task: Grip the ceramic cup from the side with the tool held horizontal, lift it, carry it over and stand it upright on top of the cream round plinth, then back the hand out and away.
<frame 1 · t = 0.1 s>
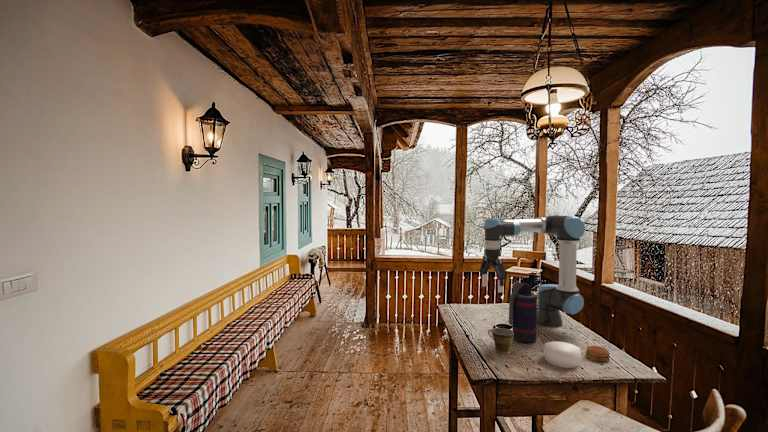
hand: (492, 289, 191), 28 cm above the table, tool pointing down, fingers open, 13 cm apart
burger: (597, 358, 173), on the table
grenade: (522, 339, 196), on the table
plinth: (562, 360, 170), on the table
ceramic cup: (500, 351, 182), on the table
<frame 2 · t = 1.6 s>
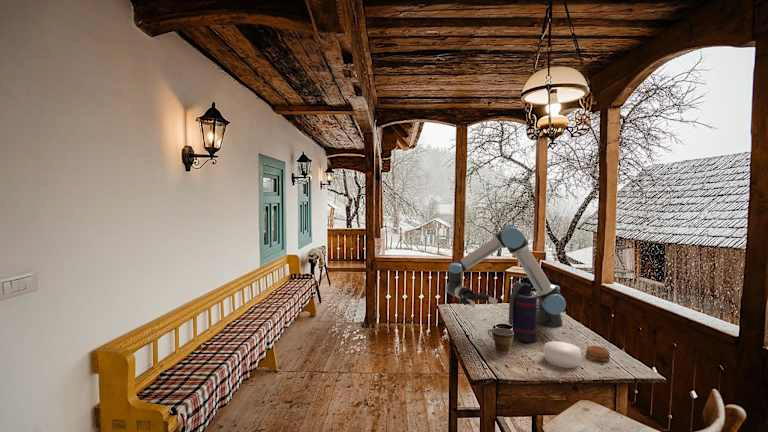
hand: (485, 303, 193), 20 cm above the table, tool horizontal, fingers open, 13 cm apart
nothing on the table moved.
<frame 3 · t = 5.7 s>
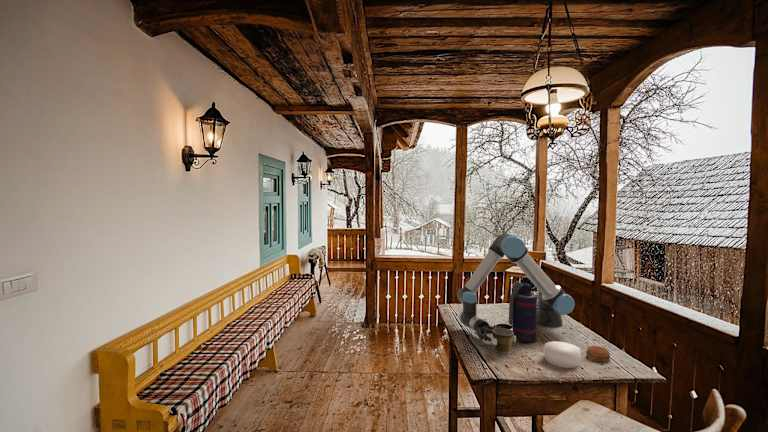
hand: (505, 340, 178), 7 cm above the table, tool horizontal, fingers open, 10 cm apart
ceramic cup: (499, 351, 182), on the table, touching gripper
everything else where it was.
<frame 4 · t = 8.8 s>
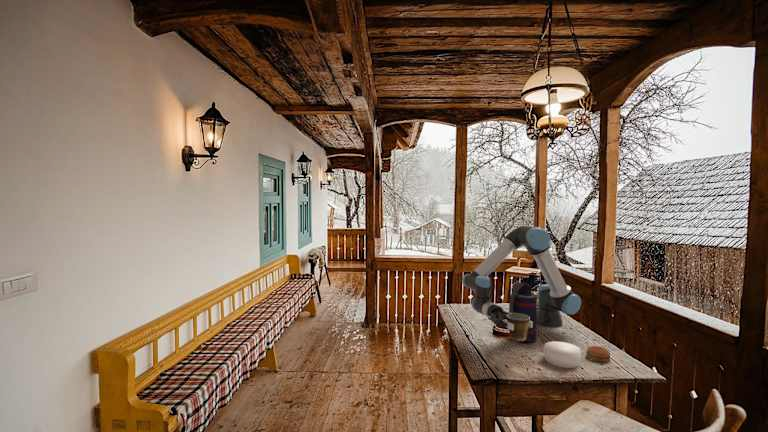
hand: (522, 326, 165), 18 cm above the table, tool horizontal, fingers closed on ceramic cup, 9 cm apart
ceramic cup: (514, 337, 169), point 11 cm above the table, touching gripper
everything else where it was.
when the fingers open (14 cm above the table, at t = 11.7 s): ceramic cup drops 1 cm, resting on plinth.
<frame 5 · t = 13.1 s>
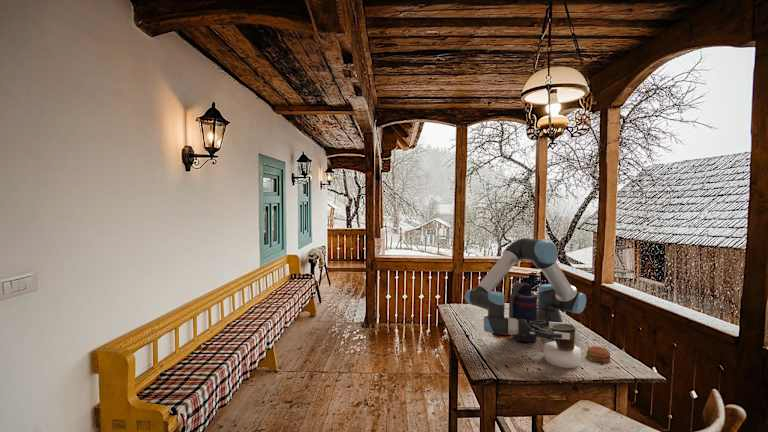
hand: (566, 330, 169), 14 cm above the table, tool horizontal, fingers open, 13 cm apart
ceramic cup: (563, 349, 167), point 6 cm above the table, touching gripper, plinth
everything else where it was.
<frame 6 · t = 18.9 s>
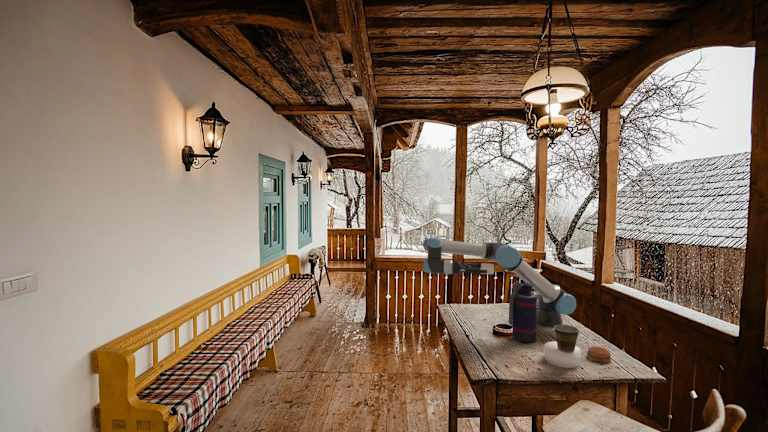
hand: (493, 269, 193), 38 cm above the table, tool horizontal, fingers open, 13 cm apart
ceramic cup: (562, 350, 167), point 6 cm above the table, touching plinth
at the end: ceramic cup inside the target area on the plinth (2.8 cm from its centre), point 5.8 cm above the plinth's base; ceramic cup tilted 0°; the gripper is holding nothing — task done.
